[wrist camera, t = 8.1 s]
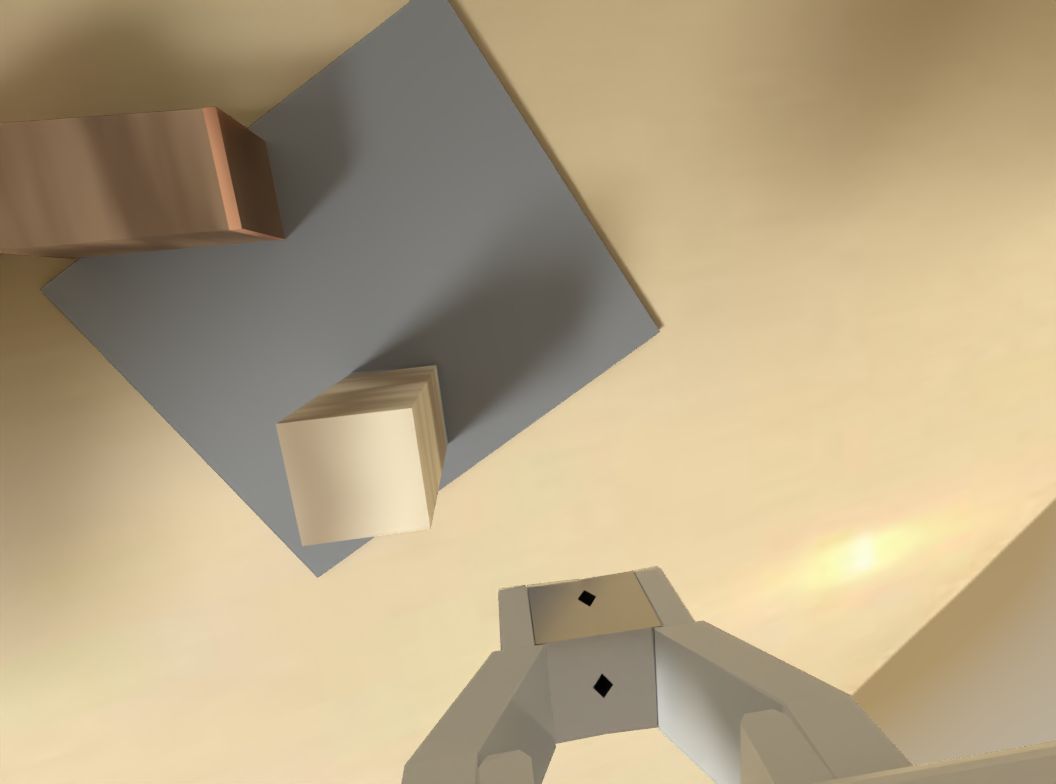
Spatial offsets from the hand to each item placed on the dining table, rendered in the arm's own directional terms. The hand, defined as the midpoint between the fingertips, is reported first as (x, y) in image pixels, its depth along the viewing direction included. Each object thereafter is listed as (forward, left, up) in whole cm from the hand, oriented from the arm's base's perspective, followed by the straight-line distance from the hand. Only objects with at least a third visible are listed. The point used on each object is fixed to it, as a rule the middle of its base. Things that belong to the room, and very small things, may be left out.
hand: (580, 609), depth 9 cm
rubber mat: (-3, +8, -19) cm, 21 cm away
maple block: (-5, +3, -19) cm, 20 cm away
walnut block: (-3, +15, -16) cm, 23 cm away
